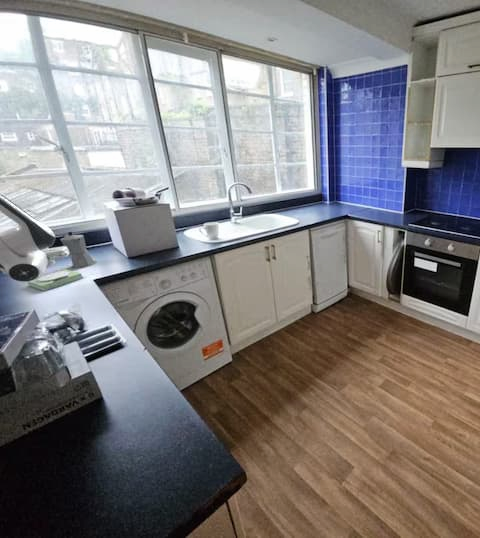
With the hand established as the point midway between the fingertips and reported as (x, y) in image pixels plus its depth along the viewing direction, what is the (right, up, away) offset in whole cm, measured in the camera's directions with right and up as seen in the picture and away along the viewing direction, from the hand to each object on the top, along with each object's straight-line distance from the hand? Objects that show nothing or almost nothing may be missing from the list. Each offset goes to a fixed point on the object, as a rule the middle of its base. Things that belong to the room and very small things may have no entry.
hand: (37, 252), depth 124 cm
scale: (-5, -13, +13) cm, 19 cm away
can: (+1, -6, +2) cm, 7 cm away
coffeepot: (-12, -5, +33) cm, 35 cm away
